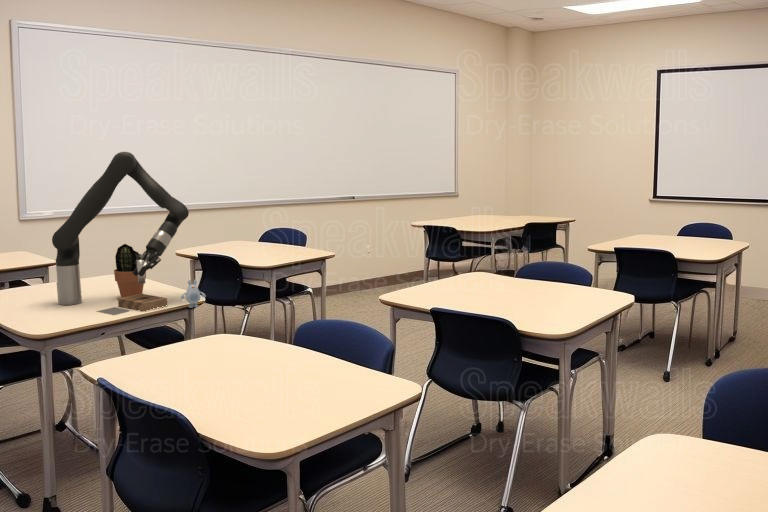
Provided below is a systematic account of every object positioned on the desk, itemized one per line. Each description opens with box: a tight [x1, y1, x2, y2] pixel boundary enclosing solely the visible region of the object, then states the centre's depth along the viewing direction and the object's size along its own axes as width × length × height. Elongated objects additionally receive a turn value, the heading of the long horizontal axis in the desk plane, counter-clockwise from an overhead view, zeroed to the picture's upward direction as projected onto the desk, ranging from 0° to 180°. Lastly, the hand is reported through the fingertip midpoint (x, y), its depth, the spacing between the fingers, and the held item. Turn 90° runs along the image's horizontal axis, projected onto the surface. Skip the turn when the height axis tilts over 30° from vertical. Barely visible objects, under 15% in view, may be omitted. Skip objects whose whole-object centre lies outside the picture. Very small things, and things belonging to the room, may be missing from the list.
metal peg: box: [137, 260, 146, 284], centre depth 292 cm, size 3×3×10 cm
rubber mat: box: [95, 306, 131, 316], centre depth 286 cm, size 12×9×1 cm
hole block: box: [117, 293, 168, 312], centre depth 294 cm, size 17×12×4 cm
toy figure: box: [179, 279, 207, 309], centre depth 294 cm, size 11×6×12 cm, turn 114°
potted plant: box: [113, 243, 147, 298], centre depth 312 cm, size 14×14×25 cm
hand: (137, 274), depth 290 cm, fingers closed on metal peg, 3 cm apart
